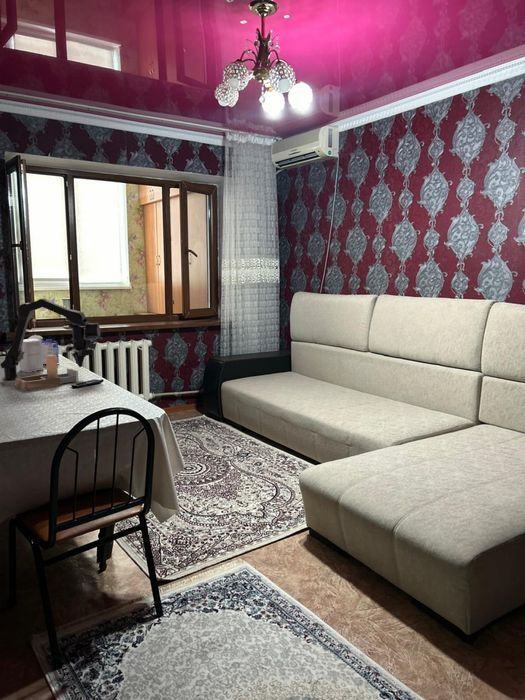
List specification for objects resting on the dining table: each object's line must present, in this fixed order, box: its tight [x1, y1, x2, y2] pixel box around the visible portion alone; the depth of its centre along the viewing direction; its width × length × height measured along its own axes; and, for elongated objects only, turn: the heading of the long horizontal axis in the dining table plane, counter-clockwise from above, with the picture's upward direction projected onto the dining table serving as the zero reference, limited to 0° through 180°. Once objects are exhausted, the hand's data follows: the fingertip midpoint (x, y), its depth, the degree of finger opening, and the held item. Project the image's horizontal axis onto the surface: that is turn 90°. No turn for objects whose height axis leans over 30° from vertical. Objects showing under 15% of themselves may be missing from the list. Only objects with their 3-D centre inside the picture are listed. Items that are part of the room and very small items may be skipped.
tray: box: [40, 367, 79, 384], centre depth 269 cm, size 10×15×5 cm, turn 134°
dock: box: [14, 373, 62, 392], centre depth 262 cm, size 12×17×4 cm
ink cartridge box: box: [41, 338, 60, 364], centre depth 314 cm, size 10×6×14 cm, turn 78°
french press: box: [27, 318, 46, 343], centre depth 324 cm, size 10×12×25 cm
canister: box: [45, 355, 59, 379], centre depth 266 cm, size 5×5×12 cm
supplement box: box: [19, 338, 44, 373], centre depth 297 cm, size 10×9×17 cm
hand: (80, 367), depth 277 cm, fingers closed
